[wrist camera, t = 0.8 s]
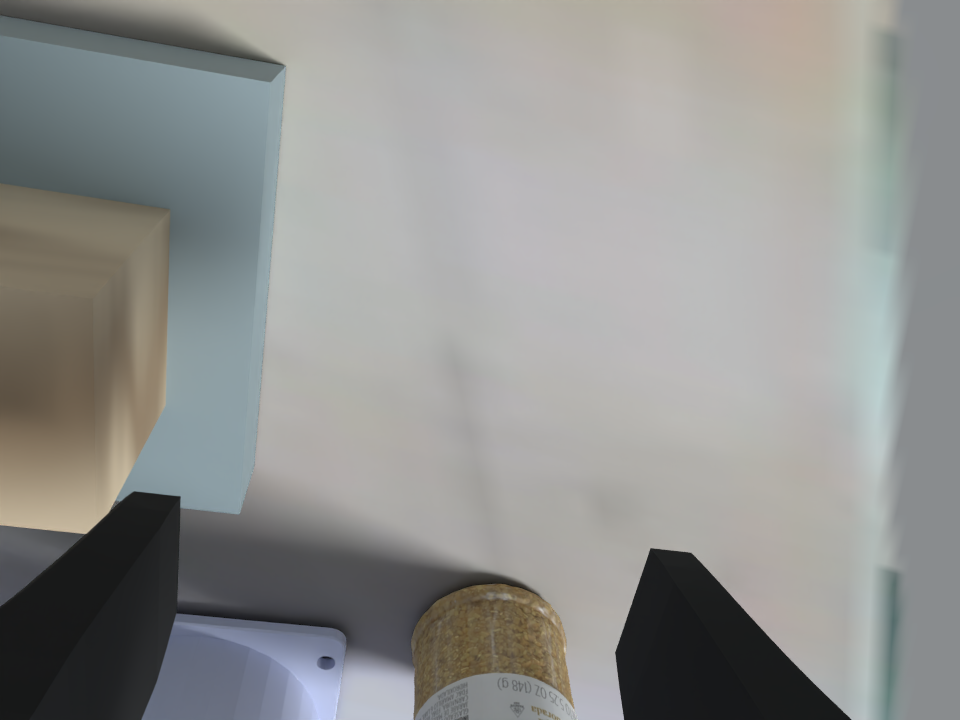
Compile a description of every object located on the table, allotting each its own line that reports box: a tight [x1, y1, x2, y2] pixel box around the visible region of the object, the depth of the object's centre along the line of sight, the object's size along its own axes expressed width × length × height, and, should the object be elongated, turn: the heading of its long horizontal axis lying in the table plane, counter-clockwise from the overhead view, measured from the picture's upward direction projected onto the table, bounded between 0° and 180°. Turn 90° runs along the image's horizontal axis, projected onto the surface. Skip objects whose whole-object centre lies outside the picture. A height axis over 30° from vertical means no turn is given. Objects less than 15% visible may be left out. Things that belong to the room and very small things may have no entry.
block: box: [0, 183, 170, 534], centre depth 16 cm, size 4×4×4 cm
